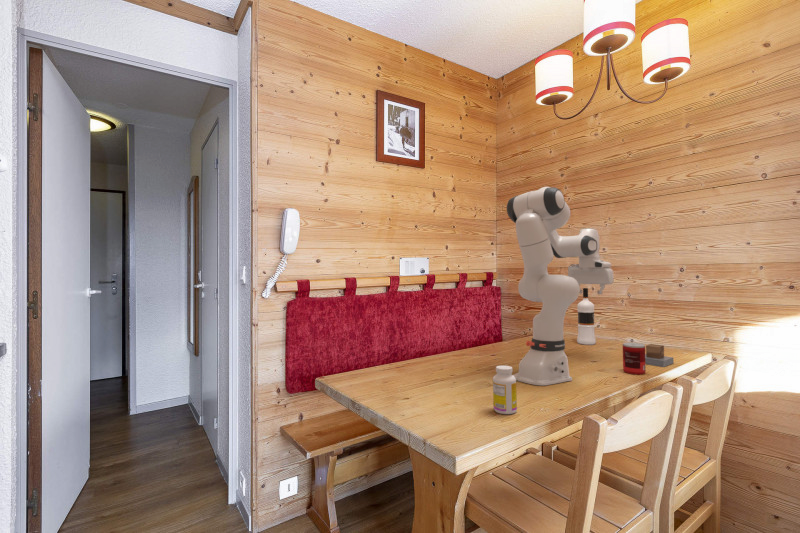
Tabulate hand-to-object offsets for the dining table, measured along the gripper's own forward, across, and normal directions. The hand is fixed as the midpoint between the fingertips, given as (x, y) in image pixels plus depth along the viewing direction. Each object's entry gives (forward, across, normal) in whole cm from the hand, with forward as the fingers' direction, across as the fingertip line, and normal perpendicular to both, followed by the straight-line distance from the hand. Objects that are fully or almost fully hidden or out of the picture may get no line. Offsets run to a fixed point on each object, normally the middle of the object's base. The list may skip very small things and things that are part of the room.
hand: (589, 293), depth 183 cm
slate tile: (+29, +23, +10) cm, 38 cm away
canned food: (+29, +24, -12) cm, 40 cm away
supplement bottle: (+29, +20, -85) cm, 92 cm away
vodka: (+29, -18, +29) cm, 45 cm away
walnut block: (+27, +23, +10) cm, 36 cm away
